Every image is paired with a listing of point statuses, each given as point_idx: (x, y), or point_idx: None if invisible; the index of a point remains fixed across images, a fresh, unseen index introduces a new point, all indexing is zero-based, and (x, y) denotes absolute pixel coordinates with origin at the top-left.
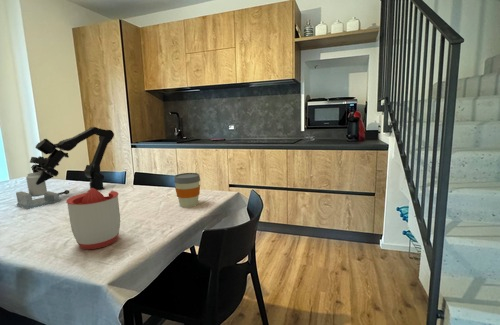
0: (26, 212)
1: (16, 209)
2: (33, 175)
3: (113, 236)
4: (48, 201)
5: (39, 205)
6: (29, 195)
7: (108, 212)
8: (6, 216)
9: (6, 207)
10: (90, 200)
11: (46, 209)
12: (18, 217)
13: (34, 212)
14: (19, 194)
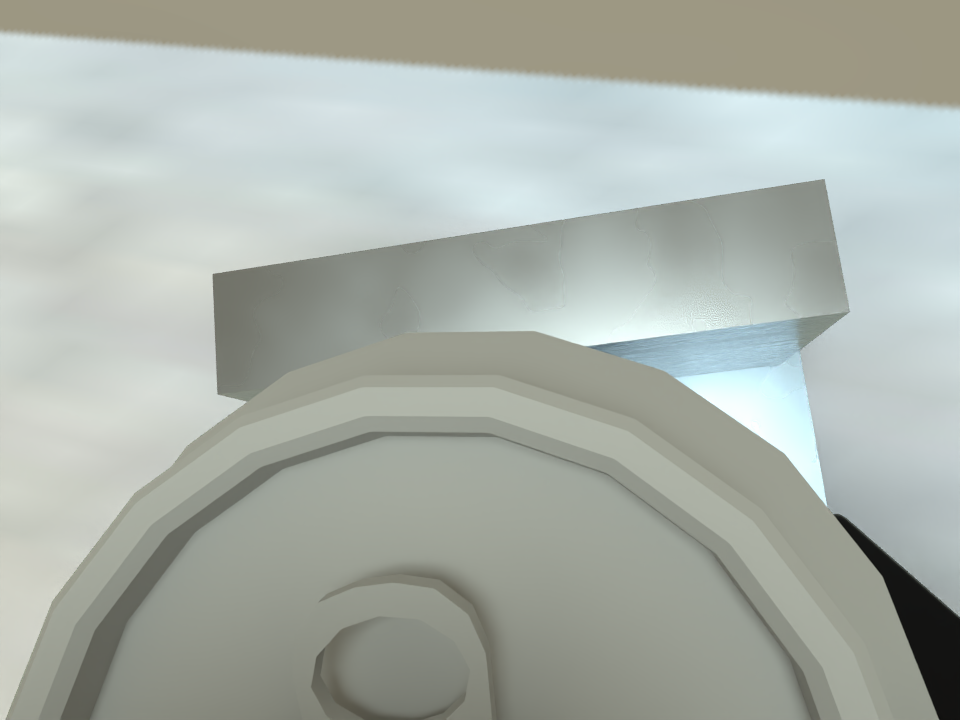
0: (150, 284)
1: (476, 215)
2: (96, 620)
3: None
4: None
5: None
6: (227, 354)
7: None
8: (202, 68)
9: (789, 121)
10: None
11: (36, 519)
12: (8, 169)
13: (44, 360)
14: (576, 224)
